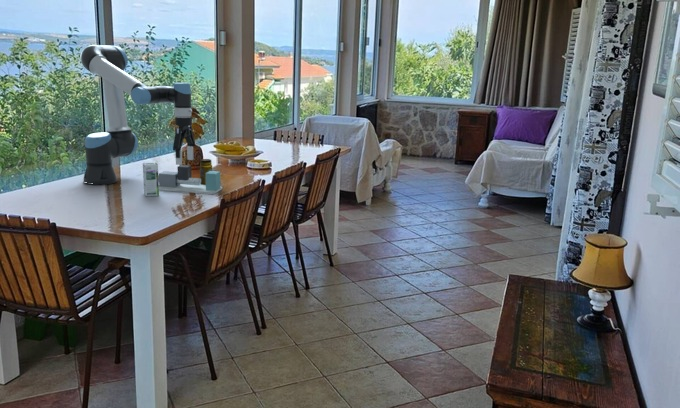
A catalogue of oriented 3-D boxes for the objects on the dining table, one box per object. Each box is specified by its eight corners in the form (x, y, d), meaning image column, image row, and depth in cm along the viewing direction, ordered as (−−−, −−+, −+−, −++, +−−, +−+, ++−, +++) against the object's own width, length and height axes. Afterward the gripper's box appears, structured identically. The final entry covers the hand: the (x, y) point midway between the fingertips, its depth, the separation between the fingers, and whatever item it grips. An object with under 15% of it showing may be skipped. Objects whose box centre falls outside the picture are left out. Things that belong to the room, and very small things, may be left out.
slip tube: (153, 183, 281) (153, 164, 279) (157, 181, 285) (157, 163, 283) (198, 186, 278) (197, 168, 276) (201, 184, 283) (201, 166, 280)
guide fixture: (156, 189, 278) (155, 170, 276) (167, 184, 289) (166, 166, 287) (213, 194, 274) (213, 175, 272) (222, 188, 286) (222, 170, 283)
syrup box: (146, 196, 264) (144, 164, 261) (143, 193, 269) (142, 162, 266) (159, 195, 267) (158, 164, 263) (156, 192, 272) (155, 161, 268)
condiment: (215, 184, 294) (215, 160, 292) (198, 185, 290) (198, 161, 287) (209, 181, 300) (209, 158, 297) (193, 182, 296) (193, 159, 293)
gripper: (180, 119, 261) (181, 167, 266) (201, 114, 285) (202, 158, 290) (163, 119, 262) (165, 166, 267) (186, 114, 286) (187, 157, 291)
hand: (184, 162), depth 279 cm, fingers open, 13 cm apart
